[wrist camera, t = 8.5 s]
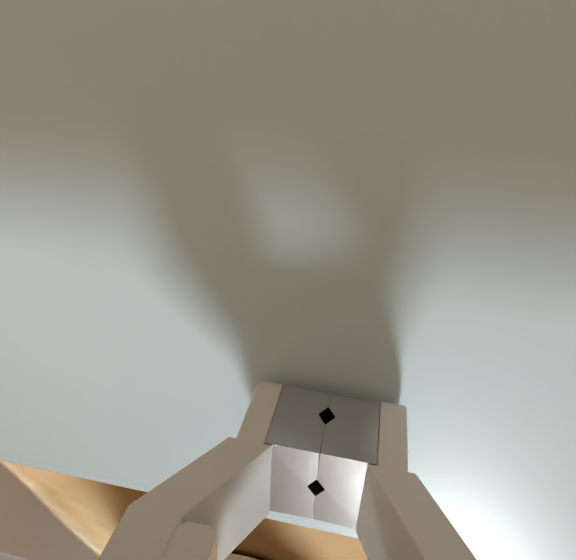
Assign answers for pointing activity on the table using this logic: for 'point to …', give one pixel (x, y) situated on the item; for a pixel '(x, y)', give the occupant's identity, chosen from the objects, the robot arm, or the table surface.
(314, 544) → the table surface
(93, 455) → the box lid
